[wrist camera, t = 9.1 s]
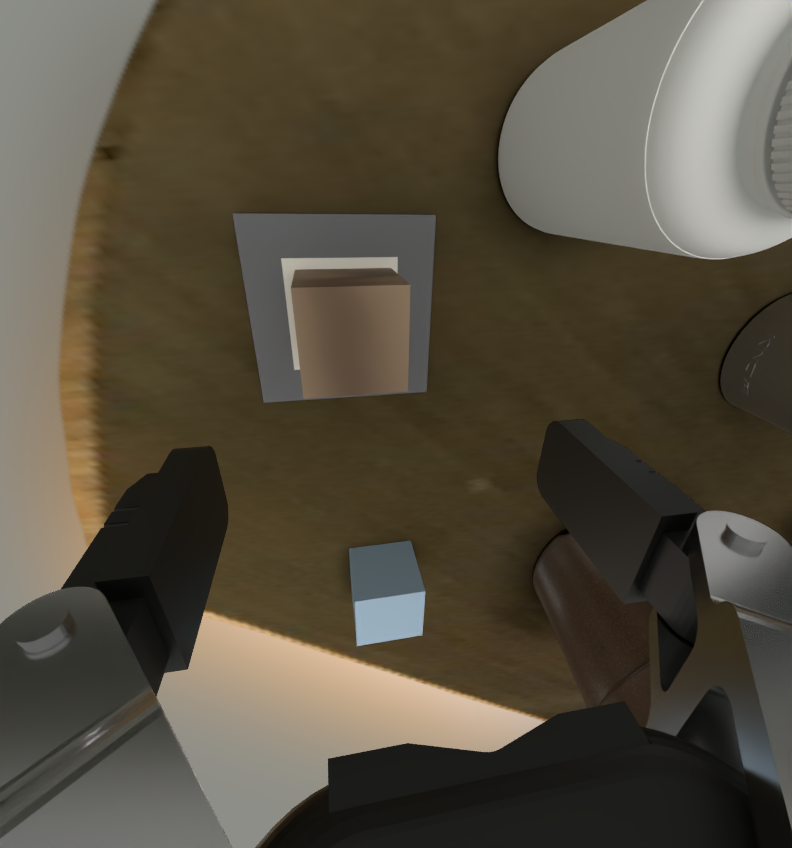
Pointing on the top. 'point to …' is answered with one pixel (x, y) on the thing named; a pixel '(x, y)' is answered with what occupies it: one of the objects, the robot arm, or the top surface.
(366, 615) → the blue block
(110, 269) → the top surface
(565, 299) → the top surface
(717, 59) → the pill bottle
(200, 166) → the top surface
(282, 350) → the mat
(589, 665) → the plant pot
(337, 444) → the top surface
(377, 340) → the walnut block
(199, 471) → the robot arm
